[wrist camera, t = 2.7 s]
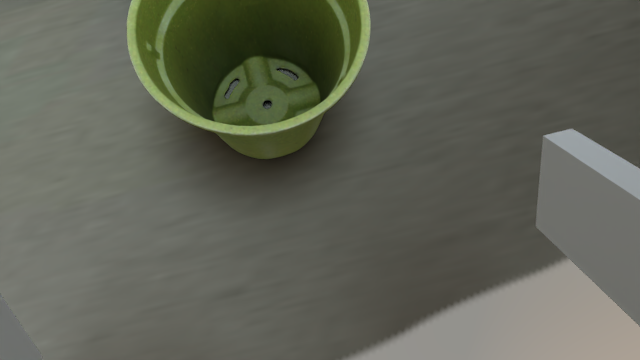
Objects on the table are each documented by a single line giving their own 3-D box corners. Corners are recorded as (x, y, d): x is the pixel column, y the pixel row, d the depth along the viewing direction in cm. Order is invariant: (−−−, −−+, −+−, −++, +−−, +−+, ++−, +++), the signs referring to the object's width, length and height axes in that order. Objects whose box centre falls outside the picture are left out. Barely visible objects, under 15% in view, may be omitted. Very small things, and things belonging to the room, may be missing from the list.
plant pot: (305, 220, 25) (304, 176, 17) (150, 145, 26) (77, 68, 18) (377, 76, 28) (408, -25, 19) (233, 11, 29) (202, -113, 20)
